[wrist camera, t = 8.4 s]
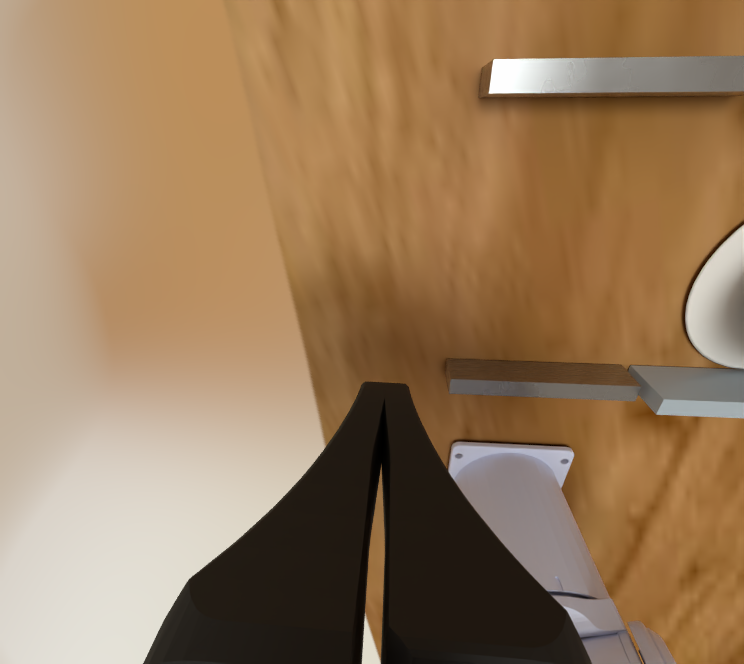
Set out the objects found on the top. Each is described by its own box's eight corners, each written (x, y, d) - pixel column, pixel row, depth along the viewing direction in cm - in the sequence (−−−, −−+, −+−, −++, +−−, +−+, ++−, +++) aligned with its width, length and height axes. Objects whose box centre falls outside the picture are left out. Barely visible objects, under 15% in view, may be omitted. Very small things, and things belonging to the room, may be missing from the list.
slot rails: (615, 378, 21) (635, 401, 19) (445, 372, 22) (448, 393, 20) (746, 64, 14) (797, 54, 12) (482, 67, 14) (493, 59, 13)
